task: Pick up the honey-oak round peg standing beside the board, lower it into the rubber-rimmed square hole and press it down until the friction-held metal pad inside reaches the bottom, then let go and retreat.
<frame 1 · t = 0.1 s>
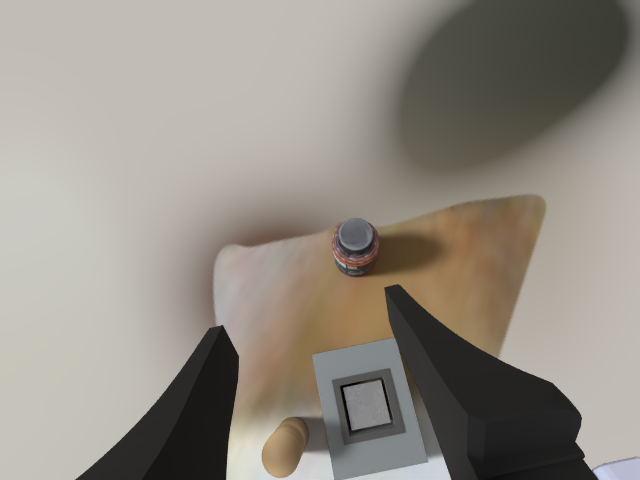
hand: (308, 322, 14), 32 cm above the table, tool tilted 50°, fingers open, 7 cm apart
board: (365, 401, 41), on the table
pad: (366, 404, 40), point 2 cm above the table, slide at 0.0 cm
supplement bottle: (354, 258, 48), on the table
peg: (293, 434, 41), on the table
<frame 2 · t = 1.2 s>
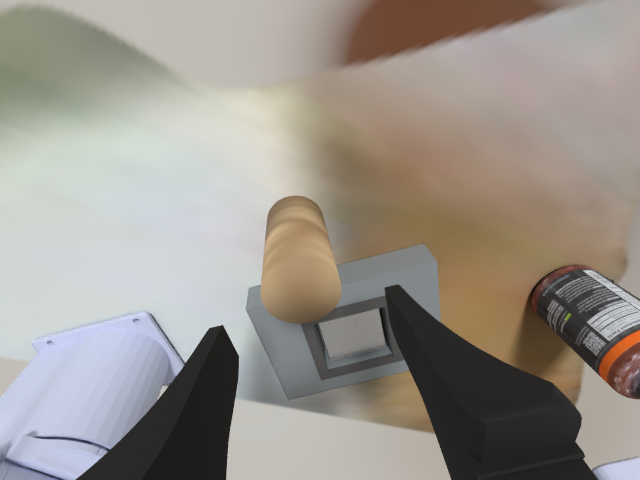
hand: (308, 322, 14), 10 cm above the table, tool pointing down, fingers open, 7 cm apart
board: (348, 316, 28), on the table
pad: (352, 332, 26), point 2 cm above the table, slide at 0.0 cm
supplement bottle: (558, 287, 29), on the table
peg: (295, 222, 23), on the table
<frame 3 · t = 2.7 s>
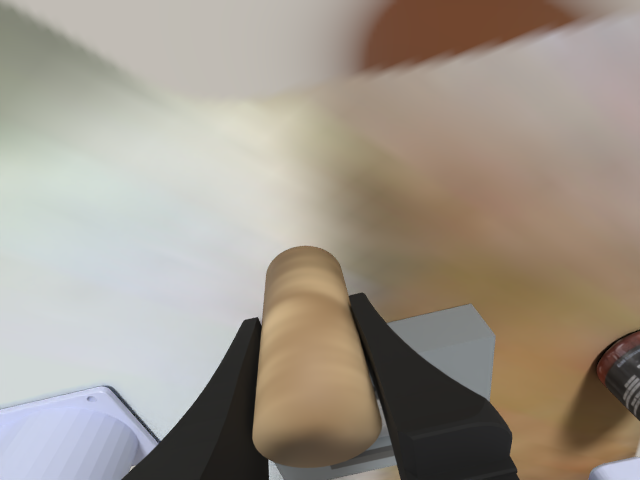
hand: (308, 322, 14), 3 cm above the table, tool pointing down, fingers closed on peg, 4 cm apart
board: (367, 387, 22), on the table
pad: (374, 412, 20), point 2 cm above the table, slide at 0.0 cm
supplement bottle: (631, 351, 23), on the table
peg: (304, 278, 17), on the table, touching gripper
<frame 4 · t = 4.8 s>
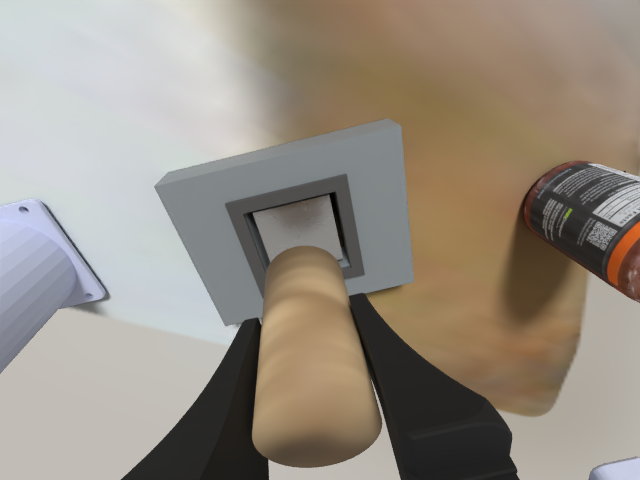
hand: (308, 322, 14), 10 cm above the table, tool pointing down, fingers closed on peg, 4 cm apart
board: (299, 222, 23), on the table
pad: (300, 235, 21), point 2 cm above the table, slide at 0.0 cm
supplement bottle: (557, 196, 24), on the table
peg: (304, 278, 17), point 7 cm above the table, touching gripper
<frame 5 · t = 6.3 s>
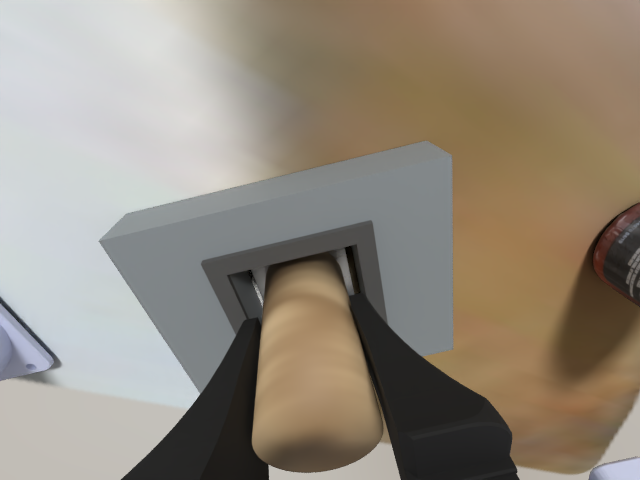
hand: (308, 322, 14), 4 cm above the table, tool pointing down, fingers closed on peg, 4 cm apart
board: (303, 273, 17), on the table
pad: (304, 277, 17), resting in board, slide at 1.5 cm, touching peg
supplement bottle: (635, 236, 18), on the table
peg: (304, 280, 17), point 1 cm above the table, touching gripper, pad
when the fingers open (4 cm above the table, at t = 7.4 s): peg stays where it is, resting on pad.
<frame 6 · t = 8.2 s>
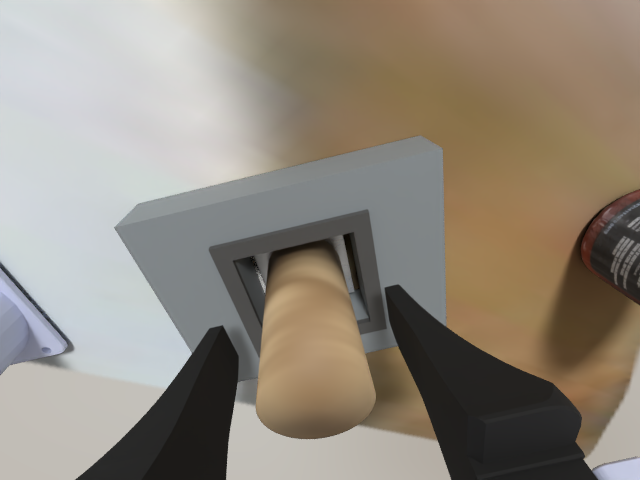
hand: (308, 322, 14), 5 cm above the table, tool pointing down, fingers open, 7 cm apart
board: (304, 262, 18), on the table
pad: (304, 265, 18), resting in board, slide at 1.5 cm, touching peg
supplement bottle: (621, 228, 19), on the table
peg: (304, 268, 18), point 1 cm above the table, touching pad
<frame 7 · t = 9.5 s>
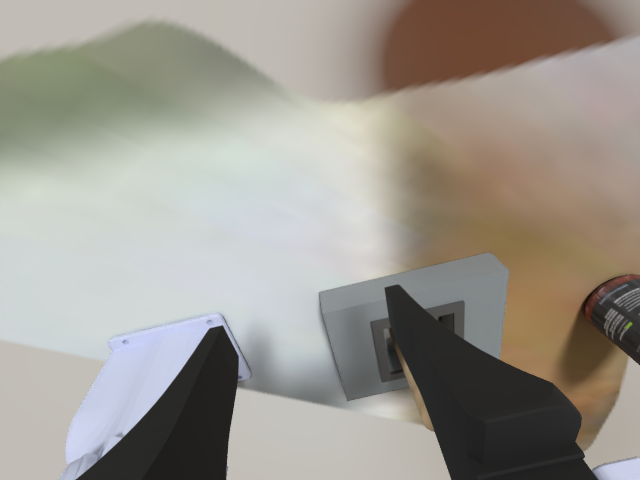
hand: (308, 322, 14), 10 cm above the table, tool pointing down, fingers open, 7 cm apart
board: (409, 321, 28), on the table
pad: (410, 323, 28), resting in board, slide at 1.5 cm, touching peg
supplement bottle: (611, 296, 30), on the table
peg: (411, 326, 28), point 1 cm above the table, touching pad
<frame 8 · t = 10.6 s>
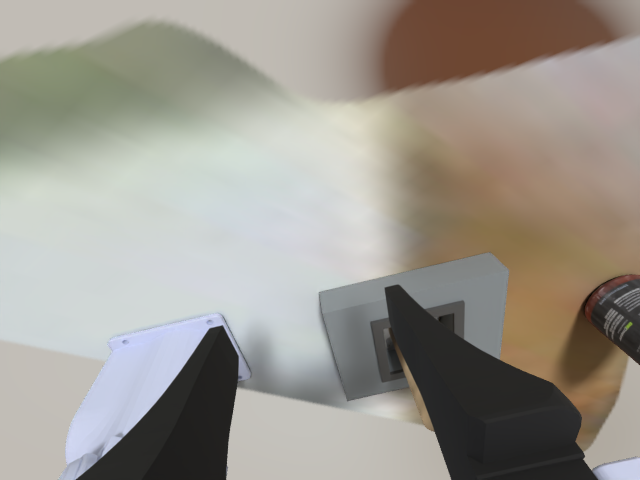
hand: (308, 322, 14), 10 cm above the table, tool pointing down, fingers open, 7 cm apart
board: (409, 321, 28), on the table
pad: (410, 323, 28), resting in board, slide at 1.5 cm, touching peg
supplement bottle: (611, 296, 30), on the table
peg: (411, 326, 28), point 1 cm above the table, touching pad
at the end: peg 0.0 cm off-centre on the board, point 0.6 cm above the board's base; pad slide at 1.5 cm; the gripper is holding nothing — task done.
